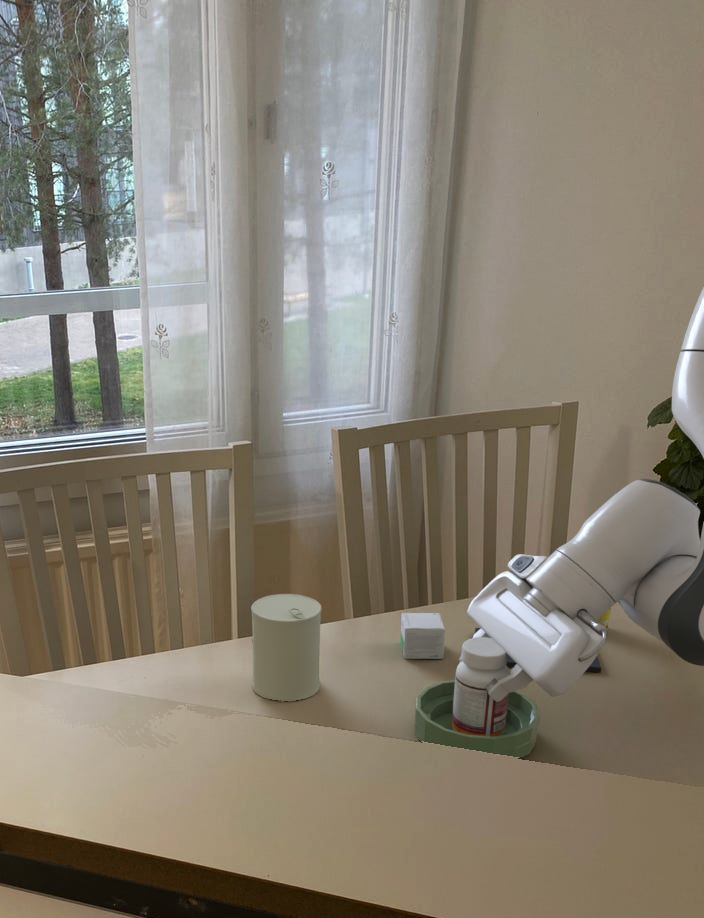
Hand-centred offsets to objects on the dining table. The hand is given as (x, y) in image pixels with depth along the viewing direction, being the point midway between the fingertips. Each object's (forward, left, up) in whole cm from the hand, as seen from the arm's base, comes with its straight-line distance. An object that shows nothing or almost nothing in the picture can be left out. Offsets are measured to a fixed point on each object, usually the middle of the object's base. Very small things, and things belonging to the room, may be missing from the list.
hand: (476, 680), depth 106 cm
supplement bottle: (-19, -34, -8) cm, 40 cm away
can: (+24, -10, -8) cm, 27 cm away
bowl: (0, 0, -8) cm, 8 cm away
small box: (+6, -23, -8) cm, 25 cm away
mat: (-10, -25, -8) cm, 28 cm away
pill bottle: (-1, 0, -7) cm, 7 cm away
